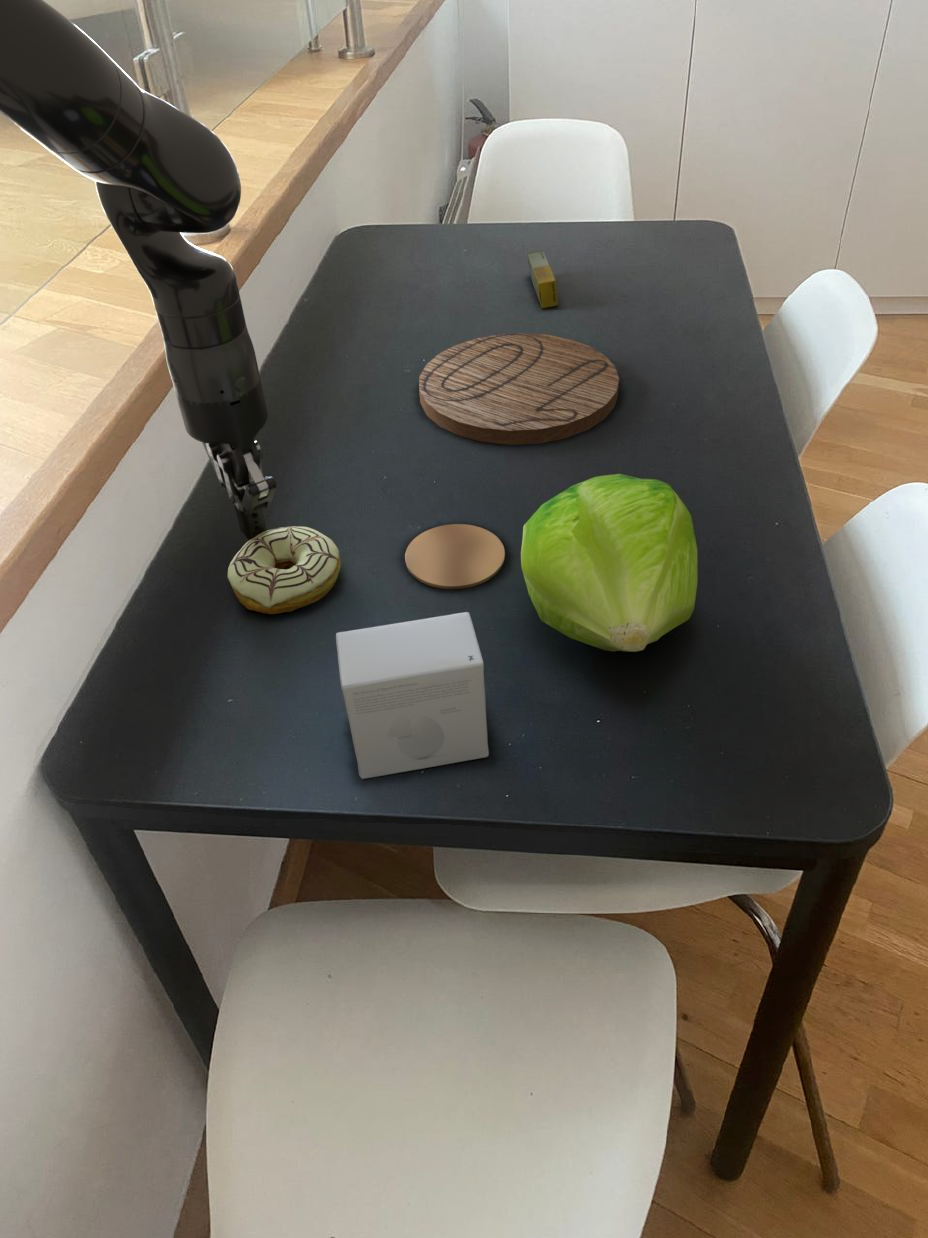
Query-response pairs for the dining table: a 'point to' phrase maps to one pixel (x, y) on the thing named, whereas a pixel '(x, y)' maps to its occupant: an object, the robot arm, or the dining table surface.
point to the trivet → (518, 388)
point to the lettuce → (612, 562)
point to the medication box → (542, 279)
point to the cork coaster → (455, 556)
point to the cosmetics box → (414, 694)
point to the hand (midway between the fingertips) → (254, 533)
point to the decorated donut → (284, 569)
